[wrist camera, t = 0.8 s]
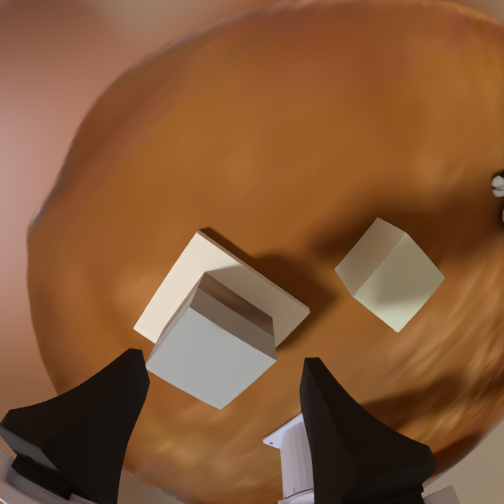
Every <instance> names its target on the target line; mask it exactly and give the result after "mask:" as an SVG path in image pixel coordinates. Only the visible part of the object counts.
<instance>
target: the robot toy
mask: <svg viewBox="0 0 504 504" xmlns="http://www.w3.org/2000/svg"><path fill="white" fill-rule="evenodd" d="M492 186H494V187H497V188H496V189H494V190H493V194H494V195H495V196H496V197H502V196H504V173H502V174H499V176H497V177H495V178H494V179H493V180H492ZM502 221H503V222H504V210H503V212H502Z"/></svg>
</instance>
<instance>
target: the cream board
mask: <svg viewBox="0 0 504 504" xmlns="http://www.w3.org/2000/svg"><path fill="white" fill-rule="evenodd" d="M204 272H205V273H207V274H208V275H210V276H211V277H213V278H214V279H215V280H217V281H218V282H220V283H221V284H223V285H224V286H226V287H227V288H229V289H230V290H232V291H233V292H235V293H236V294H237V295H239V296H240V297H242V298H243V299H245V300H246V301H248V302H249V303H251V304H252V305H254V306H255V307H257V308H258V309H260V310H262V311H263V312H265V313H266V314H268V315H269V316H271V317H272V318H273V328H274V339H275V348H276V347H277V346H278V345H279V344H280V343H281V342H282V341H283V340H284V339H285V338H286V337H287V336H288V335H289V334H290V333H291V332H292V331H293V330H294V329H295V328H296V327H297V326H298V325H299V324H300V323H301V322H302V321H303V320H304V319H305V318H306V317H307V315H308V314H309V313H310V310H309V307H307V306H306V305H305V304H303V303H302V302H300V301H299V300H297V299H296V298H295V297H293V296H292V295H290V294H289V293H287V292H286V291H285V290H283V289H282V288H280V287H279V286H277V285H276V284H275V283H273V282H272V281H270V280H269V279H267V278H266V277H265V276H263V275H262V274H260V273H259V272H258V271H256V270H255V269H253V268H252V267H250V266H249V265H248V264H246V263H245V262H243V261H242V260H241V259H239V258H238V257H236V256H235V255H234V254H232V253H231V252H229V251H228V250H227V249H225V248H224V247H222V246H221V245H220V244H218V243H217V242H215V241H214V240H213V239H211V238H210V237H208V236H207V235H206V234H204V233H203V232H201V231H200V230H198V231H197V233H196V234H195V235H194V237H193V238H192V240H191V241H190V243H189V244H188V246H187V247H186V248H185V250H184V251H183V253H182V254H181V256H180V257H179V259H178V260H177V262H176V263H175V265H174V266H173V268H172V269H171V271H170V272H169V274H168V275H167V277H166V278H165V280H164V281H163V283H162V284H161V286H160V287H159V289H158V290H157V292H156V293H155V295H154V297H153V298H152V300H151V301H150V303H149V304H148V306H147V308H146V309H145V311H144V312H143V314H142V315H141V317H140V319H139V320H138V322H137V324H136V325H135V327H134V328H133V329H135V330H136V331H137V332H139V333H140V334H142V335H143V336H145V337H146V338H148V339H149V340H151V341H152V342H154V343H155V344H156V342H157V340H158V338H159V336H160V334H161V332H162V330H163V328H164V327H165V325H166V324H167V322H168V321H169V320H170V318H171V317H172V316H173V314H174V313H175V311H176V310H177V309H178V307H179V306H180V304H181V303H182V302H183V300H184V299H185V298H186V296H187V295H188V294H189V292H190V291H191V289H192V288H193V287H194V285H195V284H196V283H197V281H198V280H199V279H200V277H201V276H202V275H203V273H204Z"/></svg>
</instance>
